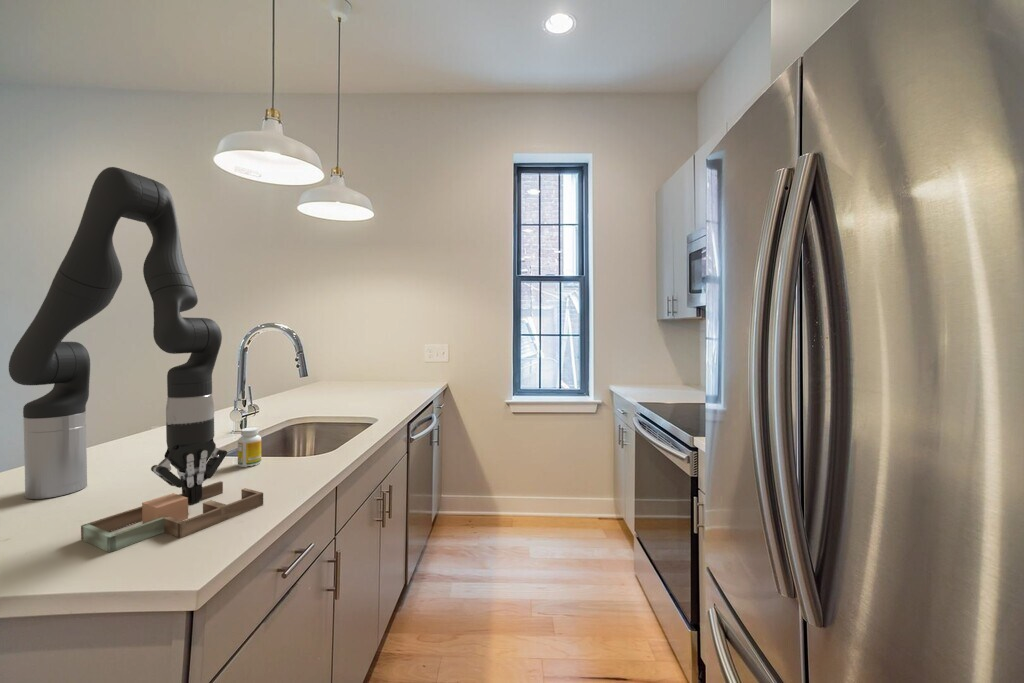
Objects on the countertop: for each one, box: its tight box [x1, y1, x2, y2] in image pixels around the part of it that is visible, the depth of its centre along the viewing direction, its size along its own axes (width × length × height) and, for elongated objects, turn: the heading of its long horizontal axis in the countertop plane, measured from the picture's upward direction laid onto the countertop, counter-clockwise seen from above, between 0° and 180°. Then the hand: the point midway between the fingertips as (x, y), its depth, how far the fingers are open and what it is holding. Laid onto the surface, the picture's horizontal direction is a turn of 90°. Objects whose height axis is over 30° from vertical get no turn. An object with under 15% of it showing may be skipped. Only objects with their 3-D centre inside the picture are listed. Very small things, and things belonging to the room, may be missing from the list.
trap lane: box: [80, 480, 264, 553], centre depth 78 cm, size 15×23×2 cm, turn 156°
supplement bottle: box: [237, 426, 262, 468], centre depth 110 cm, size 5×5×10 cm
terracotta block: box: [141, 492, 189, 524], centre depth 78 cm, size 5×5×4 cm
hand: (192, 503), depth 82 cm, fingers closed
